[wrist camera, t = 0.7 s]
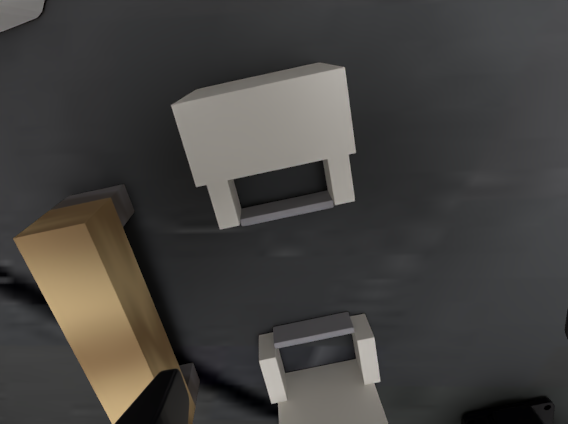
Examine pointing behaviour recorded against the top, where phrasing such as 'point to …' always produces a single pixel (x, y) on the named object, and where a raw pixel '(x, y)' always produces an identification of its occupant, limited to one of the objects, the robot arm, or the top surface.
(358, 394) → the stepped white cradle
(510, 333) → the top surface
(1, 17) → the cup
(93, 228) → the rail
